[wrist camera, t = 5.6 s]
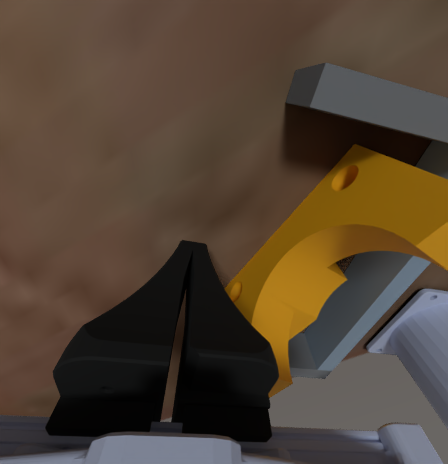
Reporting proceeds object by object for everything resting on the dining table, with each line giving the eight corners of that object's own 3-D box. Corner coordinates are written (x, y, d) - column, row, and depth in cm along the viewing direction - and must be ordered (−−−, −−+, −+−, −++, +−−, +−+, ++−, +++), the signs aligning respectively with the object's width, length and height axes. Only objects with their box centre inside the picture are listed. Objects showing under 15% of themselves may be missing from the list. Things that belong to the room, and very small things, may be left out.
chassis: (471, 119, 11) (552, 128, 8) (310, 342, 20) (324, 378, 18) (295, 70, 9) (326, 62, 7) (213, 332, 19) (213, 370, 16)
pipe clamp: (268, 308, 18) (292, 405, 12) (222, 288, 16) (226, 388, 11) (403, 187, 13) (548, 261, 7) (352, 143, 11) (484, 193, 6)
